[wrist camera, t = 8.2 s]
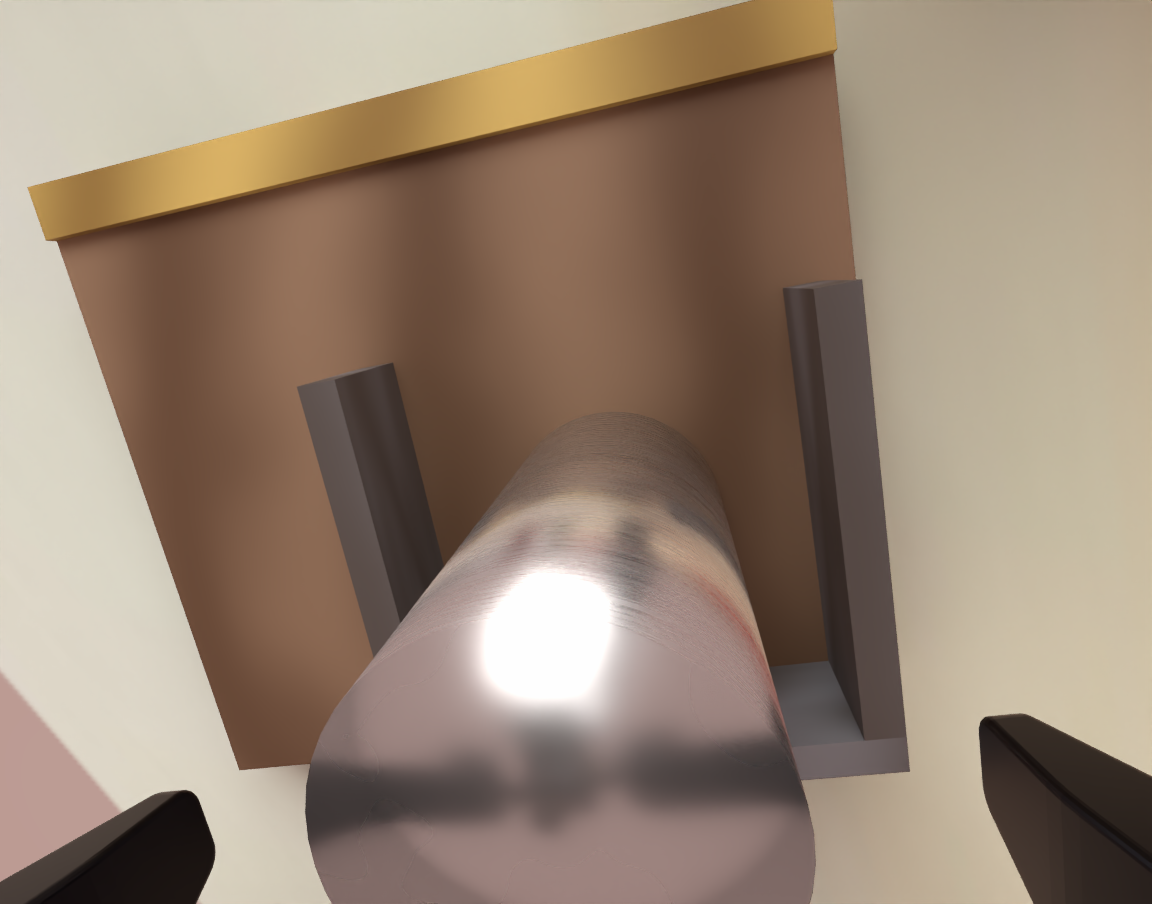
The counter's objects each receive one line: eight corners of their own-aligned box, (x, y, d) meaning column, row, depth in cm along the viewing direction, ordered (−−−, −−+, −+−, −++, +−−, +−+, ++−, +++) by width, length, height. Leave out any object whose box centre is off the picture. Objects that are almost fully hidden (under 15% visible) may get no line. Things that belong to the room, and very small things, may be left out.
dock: (805, 25, 15) (873, -98, 10) (873, 664, 19) (949, 798, 14) (105, 199, 18) (-98, 168, 13) (277, 725, 21) (166, 855, 16)
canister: (704, 394, 15) (779, 582, 6) (735, 596, 16) (844, 1044, 7) (493, 430, 16) (243, 649, 6) (536, 621, 17) (376, 1051, 8)
